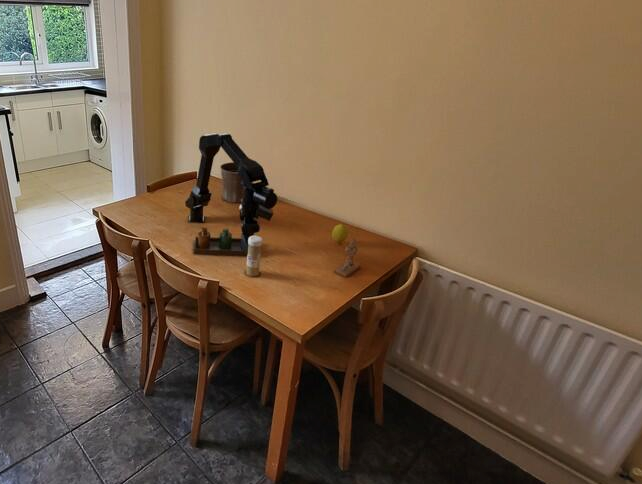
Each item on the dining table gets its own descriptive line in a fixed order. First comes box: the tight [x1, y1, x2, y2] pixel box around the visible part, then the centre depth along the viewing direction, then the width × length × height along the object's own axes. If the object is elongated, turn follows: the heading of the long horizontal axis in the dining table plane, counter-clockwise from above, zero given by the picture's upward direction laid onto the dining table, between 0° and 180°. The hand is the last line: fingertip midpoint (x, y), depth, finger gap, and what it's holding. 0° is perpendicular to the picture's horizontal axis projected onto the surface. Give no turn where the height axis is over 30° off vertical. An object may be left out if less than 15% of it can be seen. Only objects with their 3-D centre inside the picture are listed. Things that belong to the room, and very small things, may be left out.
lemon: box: [331, 223, 349, 244], centre depth 158 cm, size 6×6×8 cm
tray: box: [193, 236, 248, 257], centre depth 155 cm, size 10×23×2 cm, turn 85°
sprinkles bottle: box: [245, 235, 263, 277], centre depth 137 cm, size 5×5×14 cm
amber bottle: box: [197, 227, 211, 249], centre depth 155 cm, size 5×5×8 cm
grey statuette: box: [335, 238, 360, 278], centre depth 139 cm, size 9×4×12 cm, turn 131°
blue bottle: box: [240, 232, 249, 250], centre depth 153 cm, size 4×4×8 cm
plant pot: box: [219, 161, 243, 204], centre depth 199 cm, size 16×16×16 cm
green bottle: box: [218, 228, 233, 250], centre depth 154 cm, size 5×5×8 cm
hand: (247, 238), depth 153 cm, fingers open, 9 cm apart
